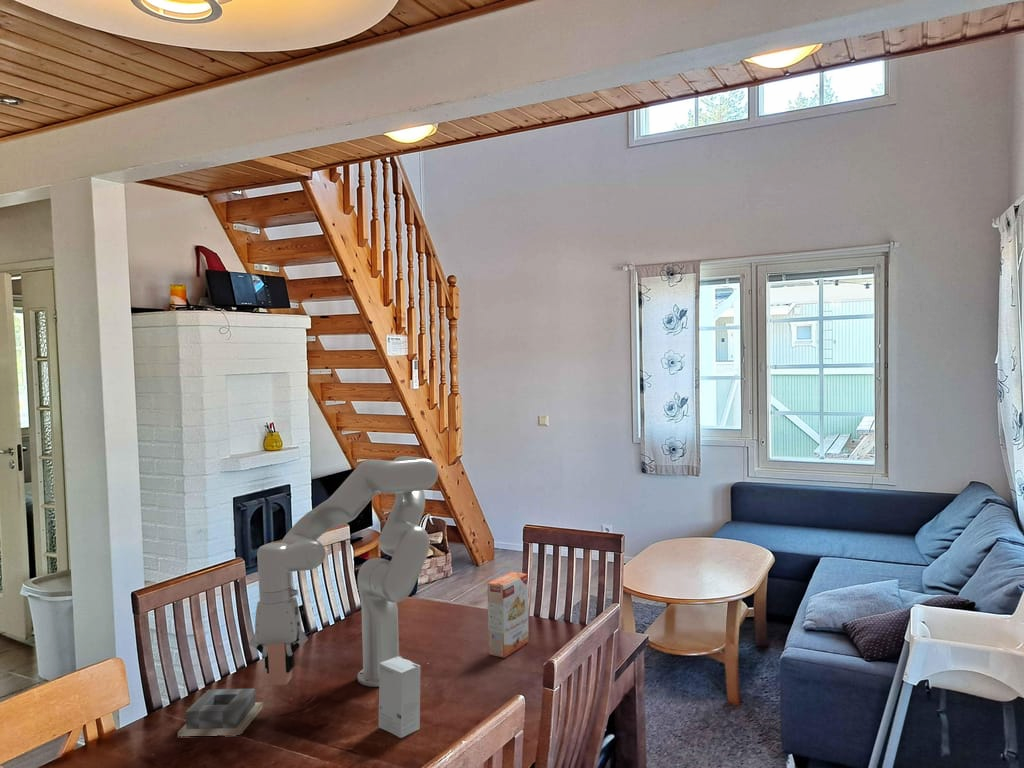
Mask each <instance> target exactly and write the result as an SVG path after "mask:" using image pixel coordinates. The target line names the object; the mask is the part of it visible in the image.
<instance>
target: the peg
mask: <svg viewBox="0 0 1024 768" xmlns="http://www.w3.org/2000/svg"><path fill="white" fill-rule="evenodd" d="M286 656H287V651H286V647H285V644H284V643H279V644H268V663H269V674H268V676H269V677H268V678H269V681H268V682H269V686H287V685H288V683H289V682H290V680H292V678H293V671H292V670H293V669H292V670H291V671H290V672H289V673H287V672H286Z"/></svg>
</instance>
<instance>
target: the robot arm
mask: <svg viewBox="0 0 1024 768" xmlns="http://www.w3.org/2000/svg"><path fill="white" fill-rule="evenodd" d="M438 478H439V469H438V467H437V464H436V463H435V462H434V461H432V459H429V458H425V457H416V456H410V455H408V456H407V455H403V456H397V457H395V458H394V459H393V460H382V459H377V458H376V459H375V458H373V459H372V458H370V459H366V460H363V461H362V462H361V463H359V464H358V465H357V467H355V469H354V470H353V471H352V472H351V473H350V474H349V476H348V477H347V478H346V479H345V480H344V481H343V482H342V484H341V485H340V486H338V488H337V489H336V490H335V491H334V492H333V494H332V495H330V496H329V497H328V499H326V500H324V501H323V502H322V503H320V504H318V505H317V506H315V507H314V508H312V509H311V510H309V511H308V512H306V514H304V515H303V516H302V517H301V518H300V519H299V520H298V521H297V522H296V523H295V524H294V525H293V526H292V527H291V529H289V531H287V533H286V534H285V535H284V537H283V538H282V540H281V541H279V542H270V543H266V544H263V545H261V546H260V547H258V549H257V552H256V555H257V556H256V557H257V577H258V579H257V580H258V591H259V593H258V595H259V596H258V597H259V601H258V602H257V603H256V610H255V619H254V621H255V622H254V633H253V636H252V637H251V639H250V640H249V643H248V644H249V645H250V646H251V647H253V648H255V649H256V650H257V651H258V652H260V654H261V655H262V657H263V658H264V667H265V670H266V673H267V674H268V675H269V663H268V644H279V643H284V644H285V647H286V651H287V656H286V672H287V673H289V672H290V671H291V670H293V669H294V667H295V665H296V664H295V663H296V662H295V660H296V659H295V652H296V651H297V650H298V649H299V648H300V647H301V646H303V645H304V644H306V642H307V641H308V640H309V639H308V637H307V635H306V634H305V632H304V631H303V629H302V627H303V626H302V620H301V612H300V608H299V604H298V600H297V597H294V596H298V595H299V590H298V589H295V588H294V586H293V583H292V582H293V580H292V579H293V578H292V572H303V571H304V572H305V571H311V570H315V569H317V568H318V567H320V566H321V564H323V563H324V560H325V558H326V549H325V547H324V545H323V543H321V542H320V541H319V540H318V539H319V538H320V537H321V536H322V535H324V534H325V533H326V532H328V531H330V530H331V529H333V528H336V527H338V526H342V525H345V524H347V523H350V522H352V521H353V520H355V519H356V518H357V517H358V516H359V514H360V513H361V512H362V511H363V510H365V508H366V507H367V505H368V504H369V503H370V501H372V499H374V497H375V496H376V495H377V494H378V493H380V494H384V495H385V494H386V495H387V494H389V495H391V494H392V495H393V494H395V498H394V499H395V500H394V503H393V506H392V508H391V511H390V513H389V515H388V518H387V519H386V522H385V524H384V526H383V528H382V530H381V533H380V535H379V538H378V546H379V549H380V550H381V551H382V552H383V553H384V554H386V555H388V556H390V557H391V560H388V559H385V558H381V557H372V558H370V559H368V560H366V561H365V562H363V564H361V566H360V567H359V570H358V573H357V587H358V592H359V598H360V606H361V634H362V635H361V637H362V638H361V639H362V641H361V642H362V669H361V670H360V671H359V672H358V674H357V682H358V683H360V684H361V685H363V686H367V687H374V688H375V687H376V688H377V687H378V688H379V675H380V663H381V662H384V661H387V660H389V659H392V658H395V657H400V658H403V656H402V655H400V646H399V645H400V644H399V643H400V641H399V640H400V639H399V638H400V637H399V611H398V610H399V609H398V603H400V602H402V601H404V600H405V599H407V598H408V597H409V596H410V595H411V593H412V591H413V589H414V588H415V585H416V583H417V582H418V578H419V576H420V573H421V572H422V569H423V567H424V565H425V563H426V560H427V557H428V556H429V552H430V536H429V534H428V532H427V531H426V530H425V528H423V527H421V526H419V525H420V522H421V520H422V518H423V515H424V511H425V507H426V497H425V490H428V489H430V488H432V487H433V486H434V485H435V484H436V482H437V480H438ZM297 639H298V641H297ZM410 661H411V662H413V661H412V660H410Z"/></svg>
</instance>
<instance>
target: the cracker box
mask: <svg viewBox="0 0 1024 768" xmlns="http://www.w3.org/2000/svg"><path fill="white" fill-rule="evenodd" d="M528 576H529V575H528V574H527V573H523V572H515V571H511V572H509V573H507V574H505V575H503V576H501V577H498V578H496V579H493V580H491V581H489V582H487V629H488V630H487V631H488V636H487V637H488V655H489V656H494V657H498V658H503V659H505V658H506V657H508V656H510V655H511V654H513V653H514V652H516V651H517V650H519V649H522V647H524V646H526V645H527V644H529V643H528V642H529V641H530V638H529V636H530V635H529V581H528V579H529V577H528ZM525 644H526V645H525Z"/></svg>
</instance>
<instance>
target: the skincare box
mask: <svg viewBox="0 0 1024 768" xmlns="http://www.w3.org/2000/svg"><path fill="white" fill-rule="evenodd" d="M411 661H412V660H409V659H405V658H404V657H402V658H400V657H395V658H392V659H389V660H387V661H384V662H381V663H380V675H379V687H378V728H379V729H381V730H384V731H386V732H388V733H391V734H392V735H394V736H396V737H397V738H399V739H403V738H404V737H406V736H409V735H411V734H413V733H414V732H417V731H418V730H420V726H421V725H420V723H421V722H420V721H421V720H420V719H421V665H420V664H418V663H414V662H413V661H412V662H411Z"/></svg>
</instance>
